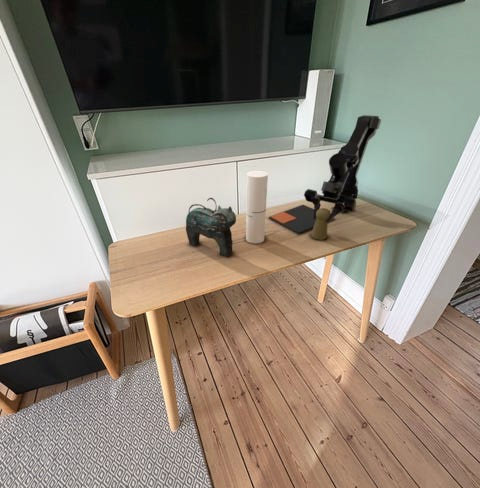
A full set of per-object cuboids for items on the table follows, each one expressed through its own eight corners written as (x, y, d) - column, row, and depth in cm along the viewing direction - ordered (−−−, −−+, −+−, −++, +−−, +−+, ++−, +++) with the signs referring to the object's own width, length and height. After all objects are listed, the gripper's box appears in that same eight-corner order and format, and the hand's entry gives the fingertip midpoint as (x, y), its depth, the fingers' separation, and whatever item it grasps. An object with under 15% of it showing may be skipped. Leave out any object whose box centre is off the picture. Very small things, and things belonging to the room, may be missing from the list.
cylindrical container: (263, 244, 98) (266, 177, 82) (244, 242, 99) (244, 176, 84) (265, 235, 103) (269, 171, 88) (247, 233, 104) (248, 170, 89)
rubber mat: (302, 206, 125) (303, 204, 124) (333, 219, 113) (333, 217, 113) (268, 218, 115) (269, 216, 114) (298, 234, 103) (298, 232, 103)
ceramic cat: (238, 252, 93) (237, 199, 81) (228, 261, 89) (225, 207, 77) (195, 238, 102) (188, 189, 89) (184, 246, 97) (175, 195, 85)
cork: (328, 239, 99) (334, 213, 92) (312, 239, 99) (317, 213, 93) (324, 231, 104) (330, 206, 97) (309, 231, 104) (314, 206, 97)
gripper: (309, 167, 94) (293, 206, 94) (362, 175, 85) (344, 219, 85) (314, 182, 104) (299, 217, 103) (362, 191, 95) (346, 230, 95)
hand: (320, 220), depth 96 cm, fingers closed on cork, 5 cm apart
